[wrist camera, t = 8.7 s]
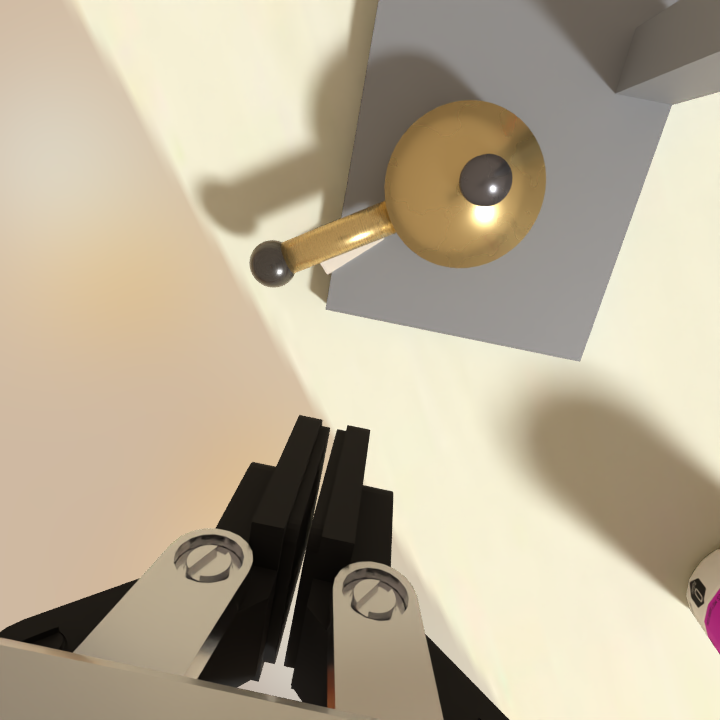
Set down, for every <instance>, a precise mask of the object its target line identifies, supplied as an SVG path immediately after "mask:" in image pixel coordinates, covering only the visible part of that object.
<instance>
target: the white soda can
mask: <svg viewBox="0 0 720 720" xmlns="http://www.w3.org/2000/svg"><path fill="white" fill-rule="evenodd" d="M686 597H687V600H688V604H689V608H690V611H691V612H692V614H693V615H694V617H695V618H696V619H697V621H698V622H699V624H700V625H701V627H702V628H703V630H704V631H705V633H706V634H707V636H708V637H709V639H710V640H711V642H712V643H713V645H714V646H715V648H716V649H717V651H718V652H719V654H720V548H719V549H717V550H715V551H713V552H712V553H711V554H709V555H708V556H707V557H705V558H704V559H703V560H701V562H700V563H699V565H698V566H697V568H696V569H695V571H694V572H693V574H692V576H691V577H690V579H689V583H688V588H687V593H686Z"/></svg>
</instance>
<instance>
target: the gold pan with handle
mask: <svg viewBox="0 0 720 720" xmlns="http://www.w3.org/2000/svg"><path fill="white" fill-rule="evenodd" d="M384 189H385V201H382V202H380V203H377V204H375V205H372V206H370V207H367V208H365V209H363V210H360V211H358V212H355V213H353V214H350V215H348V216H346V217H343V218H341V219H338V220H336V221H333V222H331V223H328V224H326V225H324V226H321V227H319V228H316V229H314V230H311V231H309V232H307V233H304V234H302V235H299V236H297V237H294V238H292V239H290V240H287V241H285V242H279V241H275V240H270V241H265V242H263V243H261V244H259V245H258V246H257V247H256V248H255V249H254V250H253V252H252V254H251V257H250V269H251V272H252V274H253V276H254V278H255V279H256V280H257V281H258V282H259V283H261V284H262V285H264V286H267V287H280V286H283V285H285V284H287V283H288V282H289V281H290V280H291V279H292V278H293V276H294V274H295V273H296V272H299V271H301V270H304V269H306V268H309V267H311V266H314V265H316V264H319V263H322V262H324V261H327V260H329V259H332V258H334V257H337V256H339V255H342V254H344V253H347V252H349V251H352V250H354V249H357V248H359V247H362V246H364V245H367V244H370V243H372V242H375V241H377V240H380V239H382V238H385V237H387V236H390V235H392V234H395V233H397V234H398V236H399V237H400V239H401V240H402V241H403V242H404V244H405V245H406V246H407V247H408V248H409V249H411V250H412V251H413V252H414V253H415V254H417V255H418V256H420V257H421V258H423V259H425V260H427V261H429V262H431V263H434V264H437V265H440V266H444V267H450V268H470V267H476V266H480V265H484V264H487V263H490V262H492V261H494V260H496V259H498V258H500V257H502V256H503V255H505V254H507V253H508V252H509V251H511V250H512V249H513V248H514V247H516V246H517V245H518V244H519V243H520V242H521V241H522V240H523V238H524V237H525V236H526V235H527V233H528V232H529V231H530V229H531V228H532V226H533V224H534V223H535V221H536V219H537V217H538V215H539V212H540V210H541V207H542V203H543V200H544V195H545V189H546V168H545V163H544V158H543V154H542V151H541V149H540V146H539V144H538V142H537V140H536V138H535V136H534V135H533V133H532V132H531V130H530V129H529V127H528V126H527V125H526V124H525V123H524V122H523V121H522V120H521V119H520V118H518V117H517V116H516V115H515V114H513V113H512V112H510V111H509V110H507V109H505V108H503V107H501V106H498V105H496V104H493V103H489V102H485V101H478V100H463V101H456V102H451V103H448V104H445V105H442V106H439V107H437V108H435V109H433V110H431V111H429V112H427V113H426V114H425V115H423V116H422V117H420V118H419V119H418V120H417V121H416V122H414V123H413V124H412V125H411V126H410V127H409V128H408V130H407V131H406V132H405V133H404V134H403V135H402V137H401V139H400V140H399V142H398V143H397V145H396V147H395V149H394V151H393V153H392V155H391V158H390V160H389V163H388V167H387V171H386V176H385V186H384Z"/></svg>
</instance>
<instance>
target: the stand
mask: <svg viewBox="0 0 720 720" xmlns="http://www.w3.org/2000/svg"><path fill="white" fill-rule="evenodd" d="M717 92H720V0H379V1H378V7H377V13H376V19H375V25H374V31H373V36H372V42H371V48H370V54H369V60H368V65H367V71H366V77H365V83H364V89H363V95H362V100H361V106H360V112H359V118H358V124H357V130H356V135H355V141H354V147H353V153H352V159H351V164H350V170H349V176H348V182H347V188H346V194H345V199H344V205H343V211H342V217H341V218H343V217H346V216H348V215H350V214H353V213H355V212H358V211H360V210H363V209H365V208H367V207H370V206H372V205H375V204H377V203H380V202H382V201H385V189H384V186H385V176H386V171H387V167H388V163H389V160H390V158H391V155H392V153H393V151H394V149H395V147H396V145H397V143H398V142H399V140H400V139H401V137H402V135H403V134H404V133H405V132H406V131H407V130H408V128H409V127H410V126H411V125H412V124H413V123H414V122H416V121H417V120H418V119H419V118H420V117H422V116H423V115H425V114H426V113H427V112H429V111H431V110H433V109H435V108H437V107H439V106H442V105H445V104H448V103H451V102H456V101H463V100H478V101H485V102H489V103H493V104H496V105H498V106H501V107H503V108H505V109H507V110H509V111H510V112H512V113H513V114H515V115H516V116H517V117H518V118H520V119H521V120H522V121H523V122H524V123H525V124H526V125H527V126H528V127H529V129H530V130H531V132H532V133H533V135H534V136H535V138H536V140H537V142H538V144H539V146H540V149H541V151H542V154H543V158H544V163H545V168H546V189H545V195H544V200H543V203H542V207H541V210H540V212H539V215H538V217H537V219H536V221H535V223H534V224H533V226H532V228H531V229H530V231H529V232H528V233H527V235H526V236H525V237H524V238H523V240H522V241H521V242H520V243H519V244H518V245H517V246H516V247H514V248H513V249H512V250H511V251H509V252H508V253H507V254H505V255H503V256H502V257H500V258H498V259H496V260H494V261H492V262H490V263H487V264H484V265H480V266H476V267H470V268H450V267H444V266H440V265H437V264H434V263H431V262H429V261H427V260H425V259H423V258H421V257H420V256H418V255H417V254H415V253H414V252H413V251H412V250H411V249H409V248H408V247H407V246H406V245H405V244H404V242H403V241H402V240H401V239H400V237H399V236H398V234H397V233H395V234H392V235H390V236H387V237H385V238H382V239H380V240H377V241H375V242H372V243H370V244H367V245H364V246H362V247H359V248H357V249H354V250H352V251H349V252H347V253H344V254H342V255H339V256H337V257H334V258H332V259H329V260H327V261H324V262H322V263H320V264H321V266H322V267H323V269H324V270H325V272H326V273H327V275H328V274H330V273H331V272H332V275H331V281H330V287H329V293H328V298H327V304H326V310H331V311H336V312H340V313H345V314H350V315H355V316H360V317H365V318H370V319H375V320H379V321H384V322H389V323H394V324H399V325H404V326H409V327H414V328H419V329H423V330H428V331H433V332H438V333H443V334H448V335H453V336H458V337H462V338H467V339H472V340H477V341H482V342H487V343H492V344H497V345H502V346H506V347H511V348H516V349H521V350H526V351H531V352H536V353H541V354H545V355H550V356H555V357H560V358H565V359H570V360H575V361H580V360H581V357H582V355H583V352H584V349H585V346H586V343H587V341H588V338H589V335H590V332H591V330H592V327H593V324H594V321H595V318H596V316H597V313H598V310H599V307H600V304H601V302H602V299H603V296H604V293H605V290H606V288H607V285H608V282H609V279H610V276H611V274H612V271H613V268H614V265H615V262H616V260H617V257H618V254H619V251H620V248H621V246H622V243H623V240H624V237H625V234H626V232H627V229H628V226H629V223H630V221H631V218H632V215H633V212H634V209H635V207H636V204H637V201H638V198H639V195H640V193H641V190H642V187H643V184H644V181H645V179H646V176H647V173H648V170H649V167H650V165H651V162H652V159H653V156H654V153H655V151H656V148H657V145H658V142H659V139H660V137H661V134H662V131H663V128H664V125H665V123H666V120H667V117H668V114H669V112H670V109H671V106H672V105H674V104H677V103H681V102H684V101H688V100H692V99H695V98H699V97H702V96H706V95H710V94H713V93H717Z"/></svg>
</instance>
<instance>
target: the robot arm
mask: <svg viewBox="0 0 720 720" xmlns="http://www.w3.org/2000/svg"><path fill="white" fill-rule="evenodd" d="M329 432H330V428H329V427H324V426H322V420H321V419H316V418H311V417H306V416H302V415H299V417H298V419H297V421H296V424H295V426H294V428H293V430H292V433H291V435H290V437H289V439H288V442H287V444H286V446H285V448H284V450H283V453H282V455H281V457H280V460H279V462H278V464H277V466H276V467H274V466H270V465H264V464H260V463H255V462H252V463H251V464H250V466H249V468H248V469H247V471H246V473H245V475H244V477H243V479H242V480H241V482H240V484H239V486H238V488H237V490H236V492H235V493H234V495H233V497H232V499H231V501H230V503H229V504H228V506H227V508H226V510H225V512H224V514H223V516H222V517H221V519H220V521H219V523H218V525H217V527H216V528H215V529H201V530H196V531H192V532H189V533H187V534H185V535H183V536H180V537H179V538H178V539H177V540H175V541H174V542H173V543H172V544H171V545H170V546H169V547H168V548H167V549H166V550H165V551H164V552H163V553H162V555H161V556H160V557H159V558H158V559H157V560H156V561H155V562H154V563H153V565H152V566H151V567H150V568H149V569H148V570H147V571H146V572H145V573H144V575H143V576H142V577H141V578H139V579H136V580H134V581H131V582H128V583H125V584H122V585H120V586H117V587H114V588H111V589H108V590H105V591H103V592H100V593H97V594H94V595H91V596H89V597H86V598H83V599H80V600H78V601H75V602H72V603H69V604H66V605H64V606H61V607H58V608H55V609H52V610H49V611H46V612H44V613H41V614H38V615H36V616H32V617H30V618H27V619H24V620H22V621H20V622H17V623H15V624H13V625H11V626H9V627H7V628H5V629H4V630H2V631H1V632H0V720H509V719H508V718H507V717H506V716H505V715H504V714H503V713H502V712H501V711H500V710H499V709H498V708H497V707H496V706H495V705H494V704H493V703H492V702H491V701H490V700H489V699H488V698H487V697H486V696H485V694H483V692H482V691H480V689H479V688H478V687H477V686H476V685H475V684H474V683H473V682H472V681H471V680H470V679H469V678H468V677H467V676H466V675H465V674H464V673H463V672H462V671H461V670H460V669H459V668H458V667H457V666H456V665H455V664H454V663H453V662H452V661H451V660H450V659H449V658H448V657H447V656H446V655H445V654H444V653H443V652H442V651H441V650H440V648H439V647H438V646H436V644H435V643H434V642H433V641H432V640H431V639H430V638H429V637H428V636H427V635H426V634H425V631H424V626H423V622H422V617H421V612H420V608H419V603H418V598H417V595H416V593H415V590H414V588H413V586H412V585H411V583H410V582H409V581H408V580H407V578H406V577H405V576H403V575H402V574H401V573H399V572H398V571H397V570H395V569H393V568H391V544H392V517H393V492H392V491H388V490H383V489H378V488H374V487H369V486H364V485H363V479H364V472H365V464H366V457H367V450H368V443H369V435H370V430H368V429H363V428H359V427H354V426H349V425H348V426H347V430H346V431H343V430H338V429H337V432H336V436H335V439H334V443H333V447H332V450H331V454H330V458H329V462H328V465H327V469H326V473H325V476H324V480H323V484H322V488H321V491H320V495H319V499H318V503H317V506H316V510H315V505H316V500H317V495H318V490H319V484H320V479H321V474H322V469H323V463H324V458H325V453H326V448H327V443H328V437H329ZM314 510H315V513H314ZM313 516H314V517H313ZM306 546H307V547H306ZM305 550H306V552H305ZM304 554H305V557H304ZM303 557H304V562H303V567H302V573H301V578H300V583H299V588H298V594H297V599H296V605H295V609H294V615H293V620H292V625H291V630H290V636H289V641H288V646H287V651H286V657H285V662H284V666H286V667H291V668H294V673H293V678H292V683H291V686H292V687H291V689H294V690H295V691H296V693H297V694H298V696H299V698H300V699H301V700H302V702H299V701H295V700H290V699H286V698H281V697H277V696H271V695H267V694H263V693H258V692H254V691H249V690H244V689H239V688H237V687H239V686H241V685H242V684H244V683H246V682H248V681H250V680H254V681H259V678H260V675H261V671H262V668H263V665H264V662H268V663H273V664H275V662H276V658H277V655H278V651H279V647H280V643H281V640H282V636H283V632H284V628H285V625H286V621H287V617H288V614H289V610H290V606H291V602H292V598H293V594H294V591H295V587H296V583H297V580H298V576H299V573H300V569H301V565H302V561H303Z"/></svg>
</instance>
